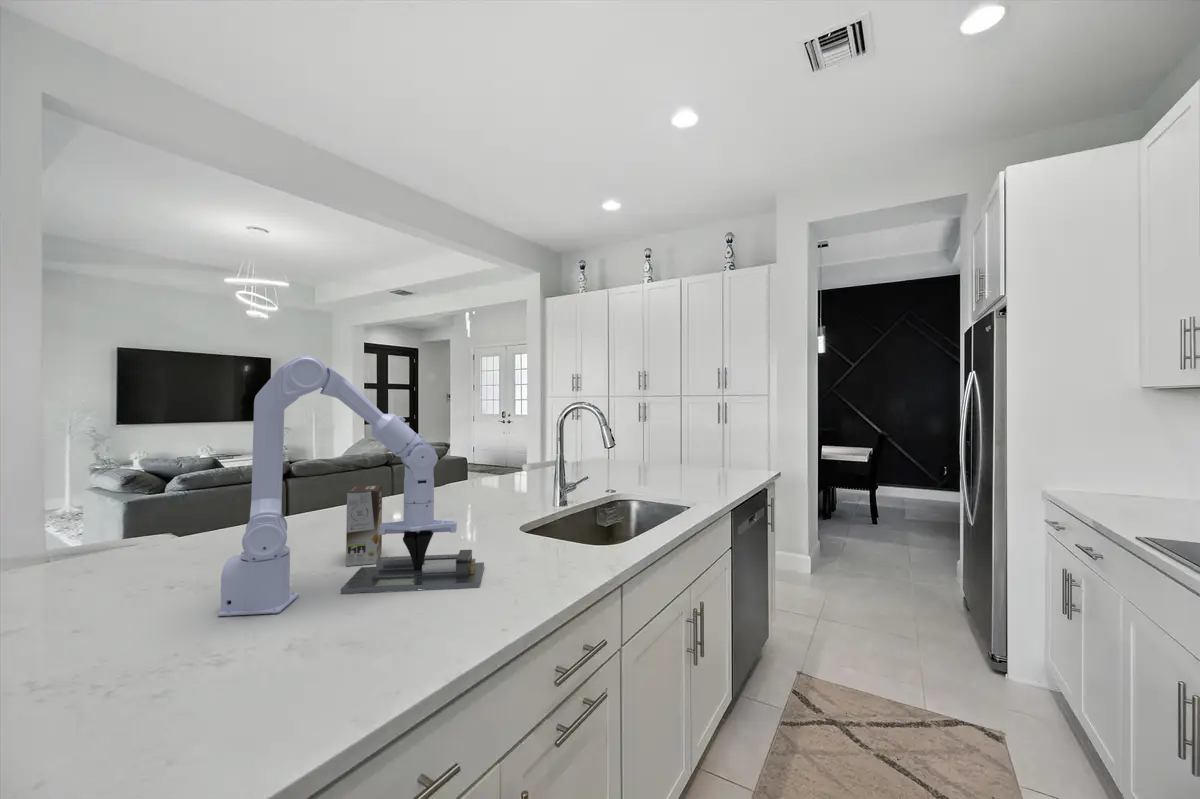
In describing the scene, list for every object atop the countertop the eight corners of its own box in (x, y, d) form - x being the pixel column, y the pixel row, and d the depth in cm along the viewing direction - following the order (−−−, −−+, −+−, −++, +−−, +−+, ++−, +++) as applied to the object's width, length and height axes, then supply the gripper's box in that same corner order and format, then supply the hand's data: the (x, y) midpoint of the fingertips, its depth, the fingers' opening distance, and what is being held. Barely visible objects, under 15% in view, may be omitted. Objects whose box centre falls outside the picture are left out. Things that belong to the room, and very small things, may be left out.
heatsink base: (340, 593, 94) (340, 569, 94) (361, 572, 106) (361, 549, 106) (479, 587, 98) (479, 563, 98) (484, 567, 110) (484, 545, 110)
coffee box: (377, 564, 111) (378, 490, 111) (345, 566, 109) (345, 492, 109) (382, 552, 120) (382, 483, 120) (352, 554, 118) (352, 485, 118)
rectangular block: (422, 576, 100) (422, 565, 100) (425, 571, 103) (425, 560, 103) (473, 574, 102) (474, 563, 102) (475, 569, 105) (475, 558, 105)
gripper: (374, 506, 97) (374, 577, 97) (453, 504, 99) (453, 574, 99) (384, 498, 104) (384, 565, 104) (458, 497, 106) (457, 562, 106)
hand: (418, 568), depth 102 cm, fingers closed
